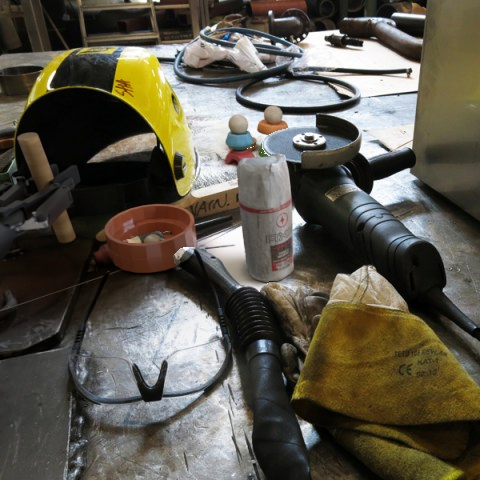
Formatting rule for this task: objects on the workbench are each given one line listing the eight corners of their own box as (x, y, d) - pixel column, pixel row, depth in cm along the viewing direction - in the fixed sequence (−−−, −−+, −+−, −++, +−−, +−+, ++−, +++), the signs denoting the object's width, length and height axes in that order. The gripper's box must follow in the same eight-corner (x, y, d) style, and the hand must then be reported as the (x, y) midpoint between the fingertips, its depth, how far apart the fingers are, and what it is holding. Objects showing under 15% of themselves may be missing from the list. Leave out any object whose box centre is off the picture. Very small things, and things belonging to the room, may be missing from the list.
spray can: (250, 288, 75) (243, 170, 65) (238, 261, 82) (230, 149, 72) (301, 278, 78) (302, 163, 68) (285, 252, 84) (284, 144, 74)
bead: (152, 228, 82) (138, 237, 80) (164, 234, 81) (150, 243, 79) (155, 241, 84) (141, 250, 82) (167, 248, 83) (153, 257, 81)
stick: (55, 238, 78) (14, 136, 67) (71, 231, 79) (33, 130, 68) (62, 245, 76) (20, 142, 65) (78, 238, 78) (40, 136, 67)
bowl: (94, 257, 81) (86, 226, 78) (161, 225, 92) (156, 197, 89) (148, 287, 75) (142, 255, 72) (214, 249, 85) (211, 219, 82)
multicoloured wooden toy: (241, 140, 135) (239, 95, 128) (294, 151, 128) (294, 104, 121) (199, 159, 121) (194, 110, 114) (255, 174, 114) (253, 122, 108)
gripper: (-91, 271, 59) (26, 191, 79) (32, 279, 58) (118, 196, 78) (-118, 217, 55) (12, 147, 75) (13, 225, 54) (109, 152, 74)
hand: (66, 172), depth 76 cm, fingers closed on stick, 3 cm apart
